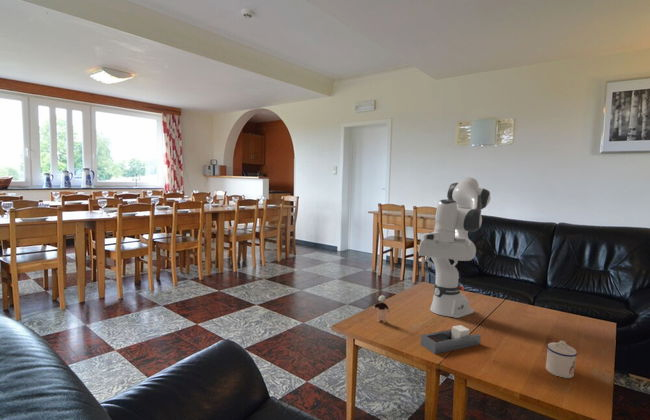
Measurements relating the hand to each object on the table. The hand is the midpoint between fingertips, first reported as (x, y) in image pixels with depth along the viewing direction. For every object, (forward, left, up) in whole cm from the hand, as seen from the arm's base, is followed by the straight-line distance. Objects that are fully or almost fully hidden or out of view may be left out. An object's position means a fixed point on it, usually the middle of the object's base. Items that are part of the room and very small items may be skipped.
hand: (440, 268), depth 157 cm
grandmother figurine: (+16, -20, -30) cm, 40 cm away
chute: (+1, +10, -30) cm, 32 cm away
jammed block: (-4, +10, -28) cm, 30 cm away
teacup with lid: (-23, +40, -30) cm, 55 cm away
